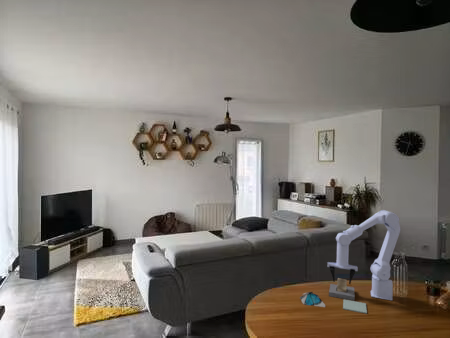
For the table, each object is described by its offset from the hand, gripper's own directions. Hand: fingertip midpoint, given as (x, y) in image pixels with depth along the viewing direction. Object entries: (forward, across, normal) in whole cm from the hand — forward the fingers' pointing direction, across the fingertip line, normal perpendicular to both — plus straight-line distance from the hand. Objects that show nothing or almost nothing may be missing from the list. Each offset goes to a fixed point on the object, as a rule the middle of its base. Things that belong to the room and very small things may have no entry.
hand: (341, 282), depth 153 cm
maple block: (+6, 0, 0) cm, 6 cm away
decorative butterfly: (+7, -13, -17) cm, 22 cm away
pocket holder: (+6, 0, 0) cm, 6 cm away
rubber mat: (+6, +6, -13) cm, 16 cm away
